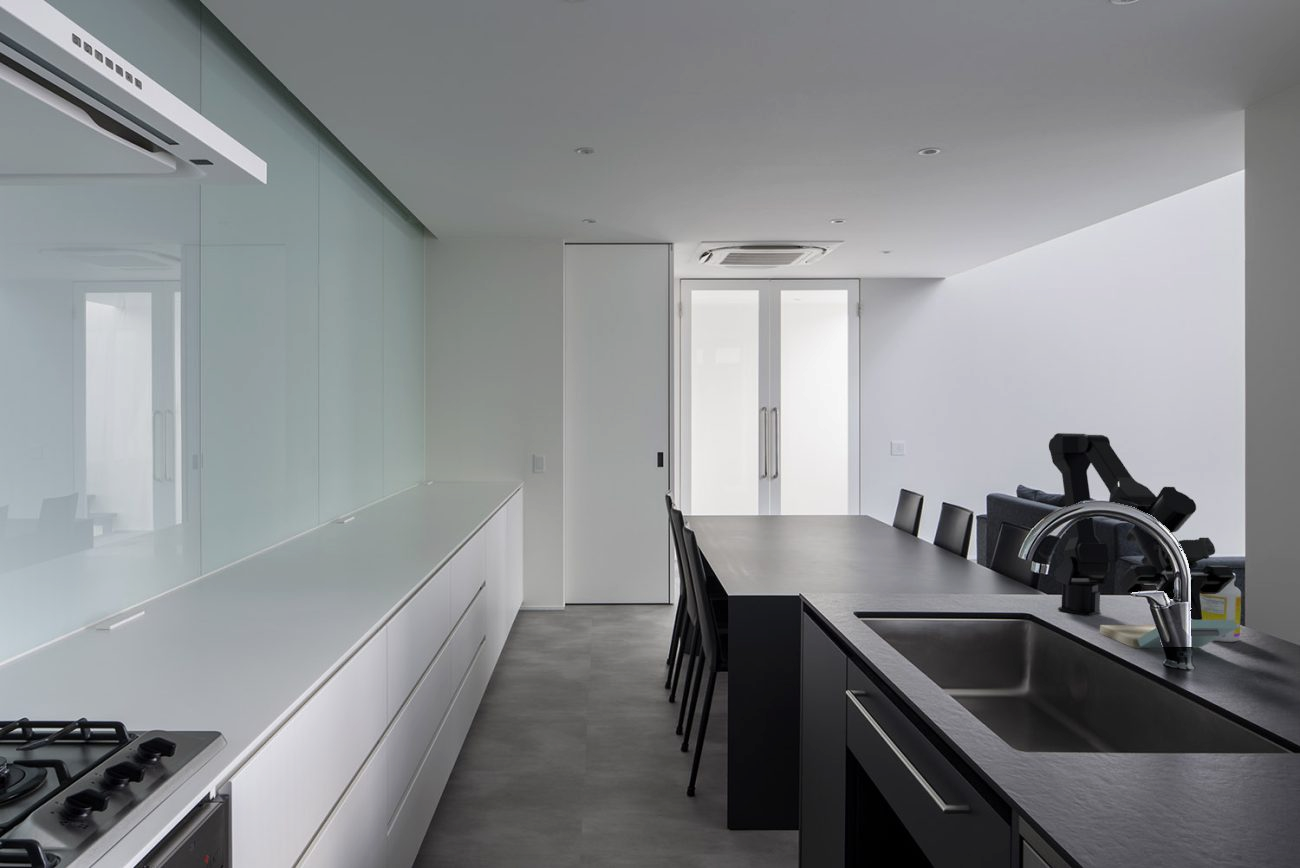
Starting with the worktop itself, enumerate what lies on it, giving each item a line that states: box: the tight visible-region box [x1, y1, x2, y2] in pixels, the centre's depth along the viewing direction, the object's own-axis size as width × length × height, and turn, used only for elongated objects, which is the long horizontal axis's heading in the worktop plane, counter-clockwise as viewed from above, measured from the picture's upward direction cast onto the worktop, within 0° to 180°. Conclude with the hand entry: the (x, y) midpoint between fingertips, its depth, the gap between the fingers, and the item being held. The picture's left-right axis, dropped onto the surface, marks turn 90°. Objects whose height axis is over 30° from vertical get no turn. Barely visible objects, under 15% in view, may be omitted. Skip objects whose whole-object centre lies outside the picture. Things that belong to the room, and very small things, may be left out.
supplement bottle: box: [1200, 572, 1242, 643], centre depth 162 cm, size 7×7×13 cm
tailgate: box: [1137, 619, 1238, 648], centre depth 150 cm, size 2×12×10 cm
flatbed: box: [1099, 624, 1200, 649], centre depth 160 cm, size 10×13×2 cm
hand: (1198, 620), depth 147 cm, fingers closed
